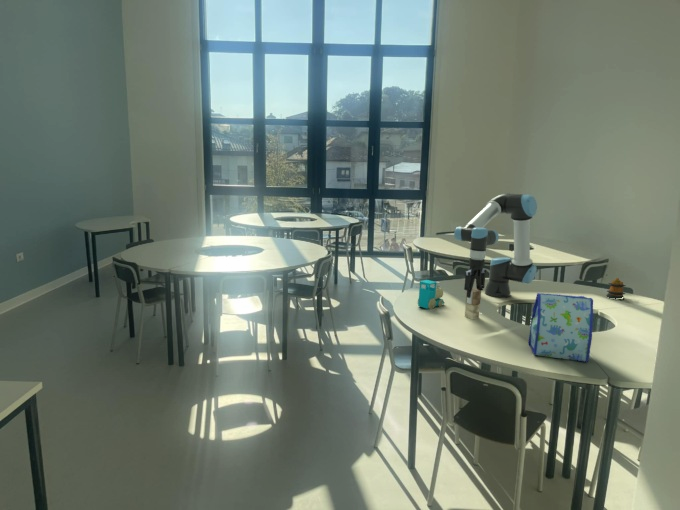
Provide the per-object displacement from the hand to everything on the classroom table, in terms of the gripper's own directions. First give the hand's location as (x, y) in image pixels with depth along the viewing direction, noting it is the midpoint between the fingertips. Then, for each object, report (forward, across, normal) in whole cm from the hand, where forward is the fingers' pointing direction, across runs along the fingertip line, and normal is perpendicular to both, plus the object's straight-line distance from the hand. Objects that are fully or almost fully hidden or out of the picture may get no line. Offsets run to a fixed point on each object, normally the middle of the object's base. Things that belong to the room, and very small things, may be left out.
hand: (472, 302), depth 241 cm
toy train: (+9, +2, -27) cm, 28 cm away
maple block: (+8, 0, 0) cm, 8 cm away
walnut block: (0, 0, 0) cm, 0 cm away
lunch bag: (+9, +2, +49) cm, 50 cm away
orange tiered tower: (+9, -117, +13) cm, 118 cm away
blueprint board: (+9, -2, -2) cm, 9 cm away
